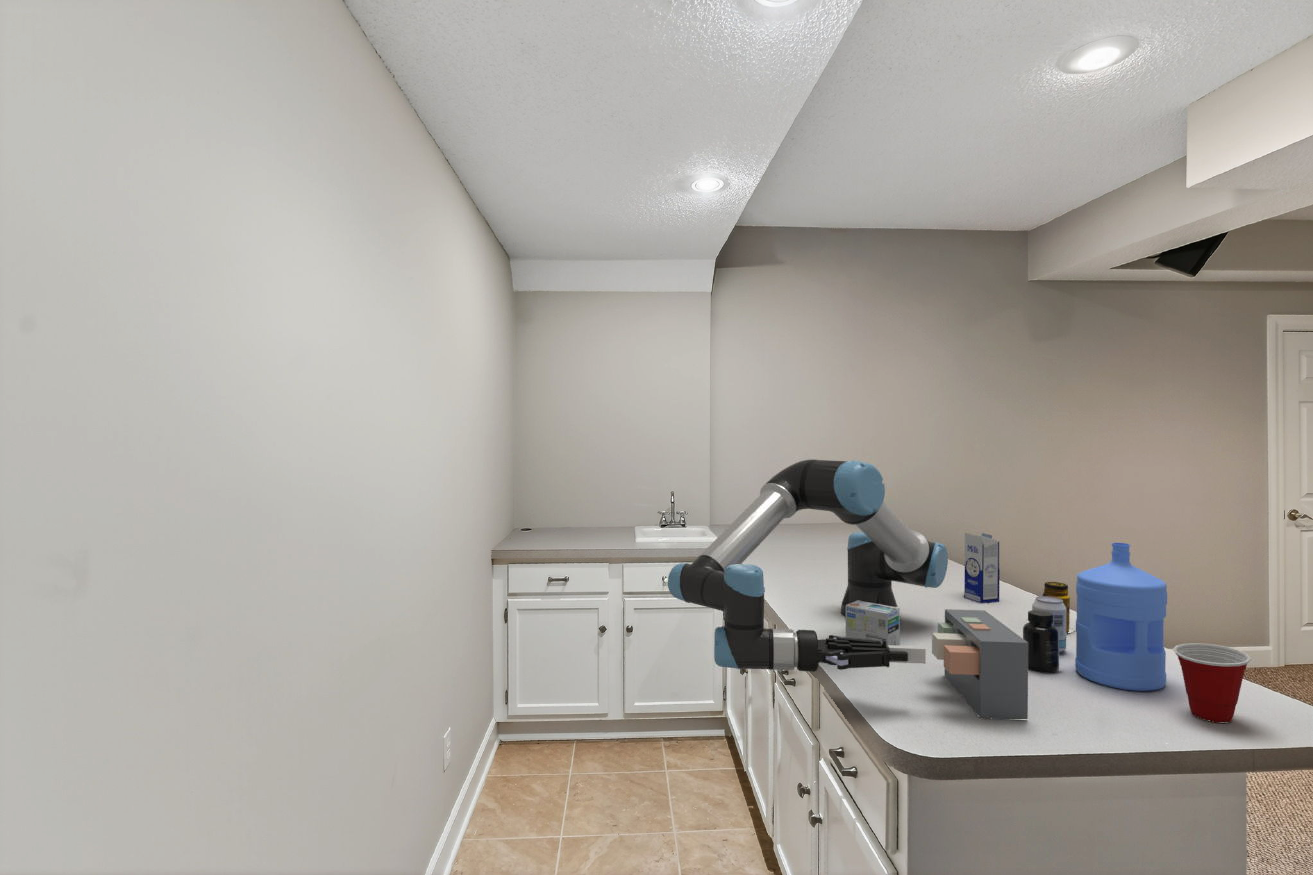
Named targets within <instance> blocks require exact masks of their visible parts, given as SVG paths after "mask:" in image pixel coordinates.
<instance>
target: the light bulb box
mask: <svg viewBox="0 0 1313 875" xmlns="http://www.w3.org/2000/svg"><path fill="white" fill-rule="evenodd" d="M900 610H901V609H900V607H892V606H886V605H881V604H875V603H869V602H863V601H859V600H857V601H855V602H852V603H850V604H847V605H846V616H845V638H855V639H864V640H874V641H880V642H881V644H883V640H885V641H887V647H888V645H895V646H901V644H900V643H901V642H900V641H901V640H900V639H901V631H900V630H901V628H900V620H901V619H900V616H901V615H900V614H901V613H900V612H901V611H900Z"/></svg>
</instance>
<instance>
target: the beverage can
mask: <svg viewBox="0 0 1313 875" xmlns="http://www.w3.org/2000/svg"><path fill="white" fill-rule="evenodd" d="M1031 605H1032V607H1031V610H1039V611H1046V612H1050V613H1052V614H1053V620H1054V623H1053V624H1052V625H1053V626H1055V627H1056V628H1057V629H1058V631H1059V654H1061V653H1062V652H1063V651H1066V649H1067V634H1066V607H1065V605H1064V603H1063V600H1062V599H1059V598H1055V597H1048V596H1043V595H1042V596H1040V595H1039V596H1036V597H1035V600H1034V601H1033V602H1032V604H1031Z"/></svg>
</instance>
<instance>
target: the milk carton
mask: <svg viewBox="0 0 1313 875" xmlns="http://www.w3.org/2000/svg"><path fill="white" fill-rule="evenodd" d="M1000 543H1001V541H1000V540H997V539H993V535H992V534H988V533H985V532H982V533H981V535H977V534H973V533H964V591H963V592H964V596H963V597H964V599H967V600H970V601H972V602H975V603H979V604H987V603H988V604H989V603H999V602H1000V580H1001V579H1000V576H1001V575H1000V574H1001V572H1000V571H1001V570H1000V561H1001V560H1000V558H1001V556H1000V555H1001V554H1000V553H1001V550H1000V549H1001V544H1000Z"/></svg>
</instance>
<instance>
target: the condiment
mask: <svg viewBox="0 0 1313 875" xmlns="http://www.w3.org/2000/svg"><path fill="white" fill-rule="evenodd" d="M1043 585H1044V588H1043V593H1042V596H1048V597H1055V598H1059V599H1062V600H1063V603H1064V605H1065V607H1066V633H1068V632H1069V629H1070V607H1071V606H1070V605H1071V604H1070V603H1071V601H1070V599H1071V598H1070V595H1069V586H1068V584H1067V583H1064V582H1057V581H1046V582H1044V584H1043ZM1073 630H1074V631H1075V632H1076V629H1073Z"/></svg>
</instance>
